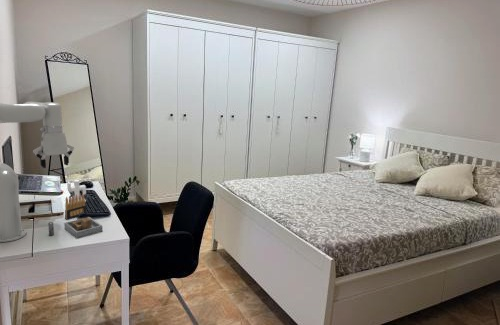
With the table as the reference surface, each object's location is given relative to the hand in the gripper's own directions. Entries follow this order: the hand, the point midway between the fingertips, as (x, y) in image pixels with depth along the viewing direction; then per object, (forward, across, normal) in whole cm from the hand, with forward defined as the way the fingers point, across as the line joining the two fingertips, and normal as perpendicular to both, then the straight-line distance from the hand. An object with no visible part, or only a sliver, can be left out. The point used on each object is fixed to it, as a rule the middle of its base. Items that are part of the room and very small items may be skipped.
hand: (55, 166), depth 164 cm
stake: (+30, -6, -8) cm, 32 cm away
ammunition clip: (+31, +11, +7) cm, 33 cm away
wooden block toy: (+30, +7, -12) cm, 33 cm away
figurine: (+31, +18, +22) cm, 42 cm away
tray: (+30, +7, -12) cm, 33 cm away
